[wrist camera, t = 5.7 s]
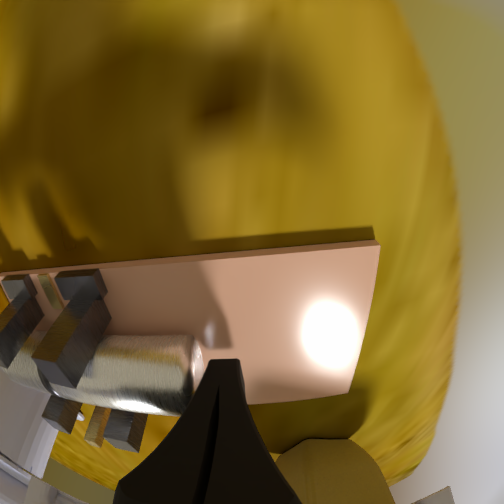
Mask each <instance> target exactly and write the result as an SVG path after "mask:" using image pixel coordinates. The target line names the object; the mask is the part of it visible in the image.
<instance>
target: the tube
mask: <svg viewBox="0 0 504 504" xmlns="http://www.w3.org/2000/svg"><path fill="white" fill-rule="evenodd" d="M47 332H48V331H39V330H33V332H32V333H31V335H30V336H29V337H28V339H27V340H26V342H25V343H24V345H23V346H22V348H21V349H20V351H19V352H18V354H17V355H16V357H15V358H14V360H13V361H12V363H11V364H10V366H9V368H8V369H6V368H4V367H2V368H3V370H4V372H5V374H6V375H7V376H8V377H9V378H10V379H11V380H12V381H13V382H15V383H18V384H21V385H23V386H26V387H29V388H32V389H35V390H38V391H41V392H44V393H48V394H51V395H54V396H57V397H60V398H64V399H69V400H73V401H77V402H82V403H86V404H91V405H96V406H101V407H106V408H112V409H118V410H124V411H131V412H138V413H147V414H156V415H168V416H181V415H182V413H183V412H184V410H185V409H186V407H187V405H188V404H189V402H190V400H191V398H192V396H193V395H194V393H195V391H196V389H197V387H198V385H199V383H200V381H201V379H202V377H203V374H204V365H203V359H202V354H201V350H200V347H199V345H198V342H197V340H196V339H195V337H194V336H193V335H191V334H189V335H102V337H101V339H100V341H99V343H98V345H97V347H96V349H95V351H94V352H93V354H92V356H91V358H90V360H89V362H88V364H87V366H86V368H85V371H84V373H83V375H82V377H81V379H80V381H79V383H78V385H77V387H76V389H73V388H69V387H65V386H61V385H57V384H53V383H50V382H49V380H48V379H47V378H46V377H45V375H44V374H43V373H42V372H41V370H40V369H39V368H38V366H37V365H36V364H35V362H34V361H33V360H32V358H31V356H32V354H33V353H34V351H35V350H36V348H37V347H38V345H39V344H40V342H41V341H42V339H43V338H44V336H45V335H46V333H47Z"/></svg>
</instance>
